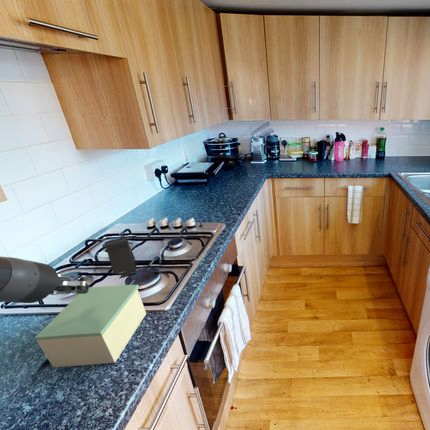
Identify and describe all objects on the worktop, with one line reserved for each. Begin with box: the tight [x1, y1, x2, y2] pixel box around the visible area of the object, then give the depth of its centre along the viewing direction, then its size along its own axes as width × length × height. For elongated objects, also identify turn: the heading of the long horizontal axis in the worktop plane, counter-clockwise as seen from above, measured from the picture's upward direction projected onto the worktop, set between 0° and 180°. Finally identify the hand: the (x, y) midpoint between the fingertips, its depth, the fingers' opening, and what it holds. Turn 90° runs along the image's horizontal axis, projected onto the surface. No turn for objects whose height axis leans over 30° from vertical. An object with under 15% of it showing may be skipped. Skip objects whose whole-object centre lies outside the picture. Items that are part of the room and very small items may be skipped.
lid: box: [34, 284, 140, 341], centre depth 70 cm, size 16×14×1 cm
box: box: [36, 288, 147, 369], centre depth 71 cm, size 16×14×9 cm
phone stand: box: [104, 236, 137, 279], centre depth 97 cm, size 9×6×12 cm, turn 31°
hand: (84, 289), depth 68 cm, fingers closed
